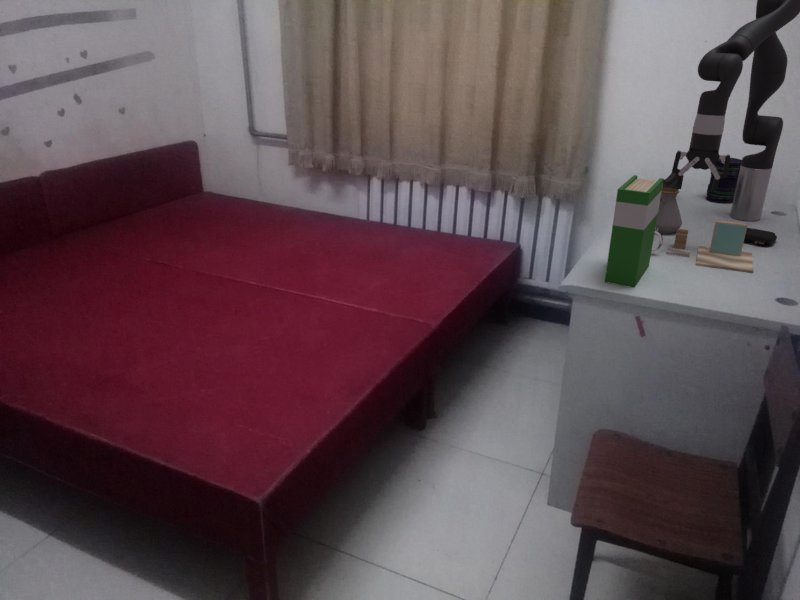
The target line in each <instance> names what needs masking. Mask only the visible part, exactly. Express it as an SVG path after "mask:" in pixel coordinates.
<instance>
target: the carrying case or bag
mask: <svg viewBox="0 0 800 600" xmlns="http://www.w3.org/2000/svg"><path fill="white" fill-rule="evenodd" d="M777 239H778V236H777V234H776V233H775V232H774V231H769V230H762V229H758V228H752V227H747V230H746V234H745V238H744V243H743V244H748V243H749V244H750V245H754V244H755V246H760V245H761V246H760V247H766V246H768V247H770V246H772V245H773V244H774V243H775V242H776V240H777Z"/></svg>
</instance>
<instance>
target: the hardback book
mask: <svg viewBox="0 0 800 600" xmlns="http://www.w3.org/2000/svg"><path fill="white" fill-rule="evenodd" d="M664 179H665V178H659V179H657V180H651V179H643V178H642V179H641V178H638V175H637V174H635V175H632V176H631V177H630V178H629V179H628V180H627V181H626V182H624V183H623V184H621V186H620V187H618V188H617V192H616V199H615V205H614V212H613V220H612V227H611V228H612V229H611V235H610V242H609V250H608V255H607V263H606V270H605V278H604V283H608V284H613V285H619V286H623V287H629V288H633V289H635V287H636V286H638V283H639V282H640V281H641V279H642V277H643V276H644V274H645V273H646V272H647V270H648V268H649V267H650V261H651V256H652V253H651V251H652V249H653V244H654V239H655V227H656V221H657V215H658V209H659V203H660V198H661V192H662V186H663V180H664Z"/></svg>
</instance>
